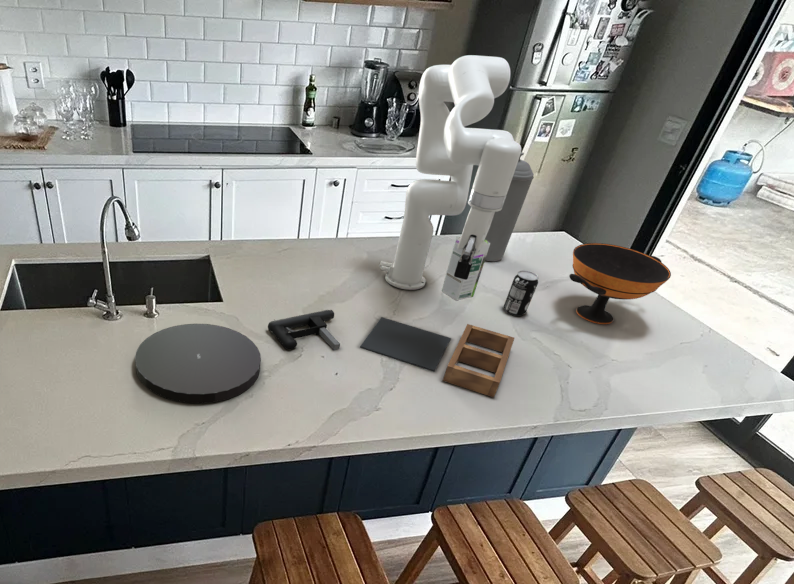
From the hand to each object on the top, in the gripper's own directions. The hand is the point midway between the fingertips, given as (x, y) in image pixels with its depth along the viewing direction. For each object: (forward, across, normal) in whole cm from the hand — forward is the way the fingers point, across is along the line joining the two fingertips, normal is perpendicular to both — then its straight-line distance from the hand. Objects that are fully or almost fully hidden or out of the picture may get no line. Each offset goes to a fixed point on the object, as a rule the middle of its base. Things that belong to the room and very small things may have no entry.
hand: (463, 270), depth 139 cm
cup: (+23, -44, +38) cm, 62 cm away
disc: (+23, +41, -50) cm, 69 cm away
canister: (+23, -70, +1) cm, 74 cm away
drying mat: (+22, +3, -8) cm, 24 cm away
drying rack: (+22, +3, +11) cm, 25 cm away
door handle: (+23, +14, -32) cm, 42 cm away
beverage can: (+23, -33, +15) cm, 43 cm away
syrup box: (+7, 0, 0) cm, 7 cm away
